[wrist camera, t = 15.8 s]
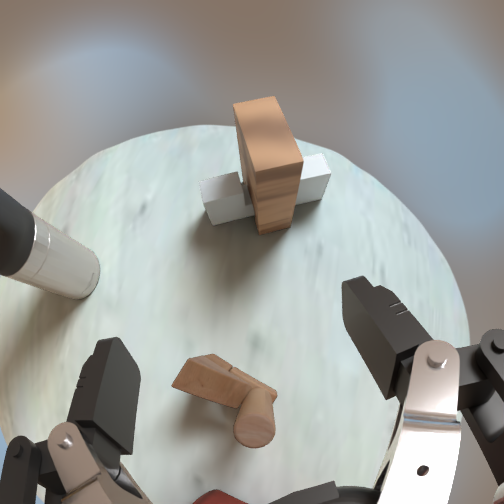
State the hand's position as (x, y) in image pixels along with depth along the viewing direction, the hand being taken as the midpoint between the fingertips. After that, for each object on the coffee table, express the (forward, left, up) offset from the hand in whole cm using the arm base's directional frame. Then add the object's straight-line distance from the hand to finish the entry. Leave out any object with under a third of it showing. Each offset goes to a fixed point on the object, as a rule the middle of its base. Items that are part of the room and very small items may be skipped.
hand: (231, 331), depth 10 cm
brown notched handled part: (+1, -7, -33) cm, 34 cm away
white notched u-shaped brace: (-9, +19, -33) cm, 39 cm away
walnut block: (-9, +19, -33) cm, 39 cm away
